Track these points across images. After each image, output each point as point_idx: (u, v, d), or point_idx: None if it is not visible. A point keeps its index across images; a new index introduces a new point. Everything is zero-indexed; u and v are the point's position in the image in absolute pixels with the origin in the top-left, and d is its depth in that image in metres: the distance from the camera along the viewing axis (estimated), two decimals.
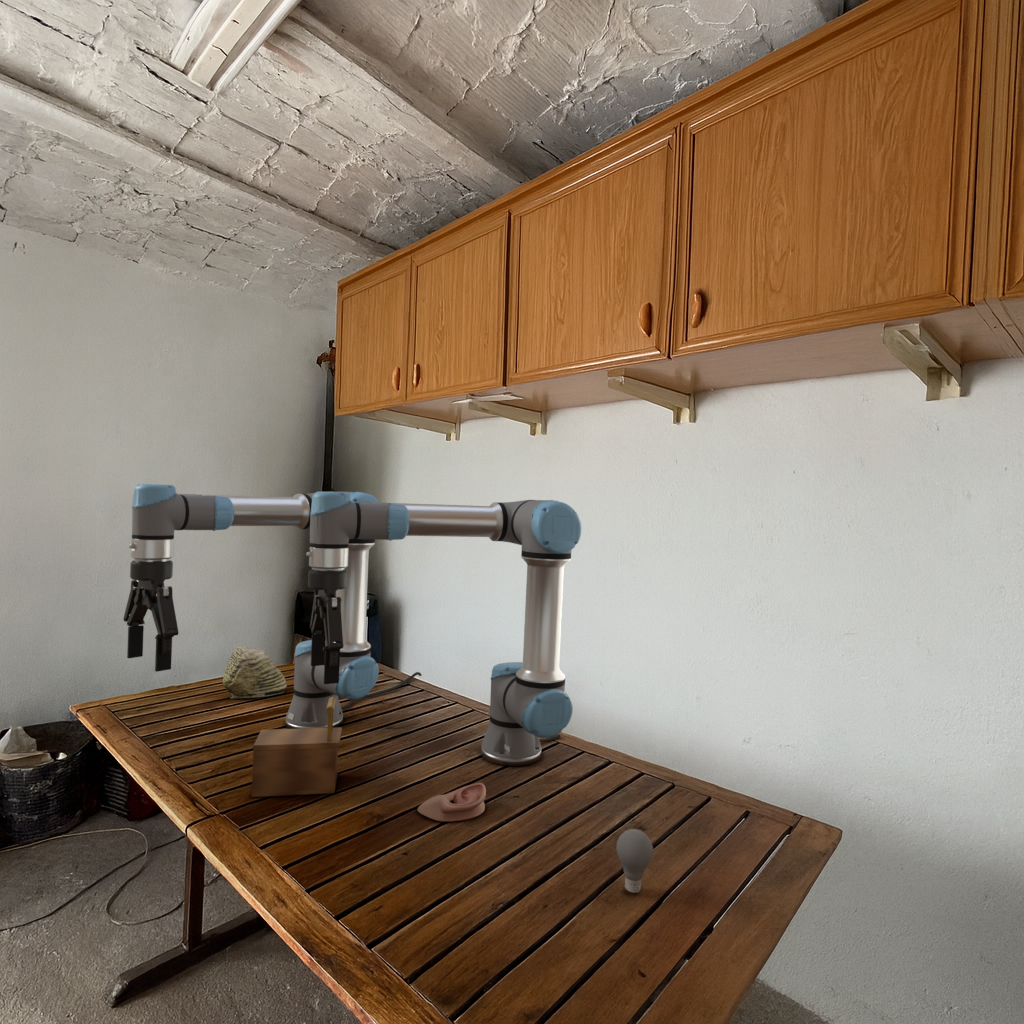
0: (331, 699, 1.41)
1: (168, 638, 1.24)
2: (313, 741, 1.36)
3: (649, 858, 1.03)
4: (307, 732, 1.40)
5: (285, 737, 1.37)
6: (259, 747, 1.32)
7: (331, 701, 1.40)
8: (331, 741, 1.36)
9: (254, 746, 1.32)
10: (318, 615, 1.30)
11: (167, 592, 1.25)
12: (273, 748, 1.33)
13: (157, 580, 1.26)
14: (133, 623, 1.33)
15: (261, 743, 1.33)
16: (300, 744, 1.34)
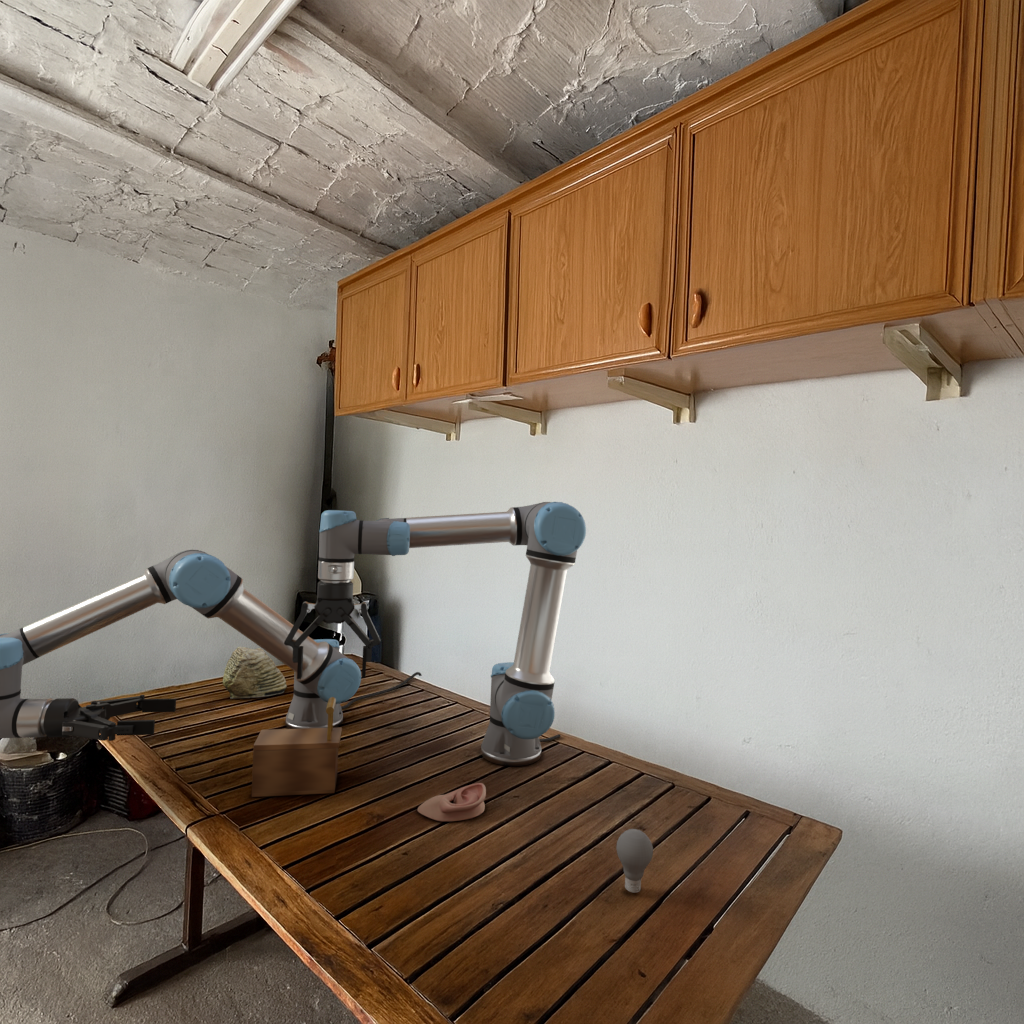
0: (331, 699, 1.41)
1: (114, 730, 1.23)
2: (313, 741, 1.36)
3: (649, 858, 1.03)
4: (307, 732, 1.40)
5: (285, 737, 1.37)
6: (259, 747, 1.32)
7: (331, 701, 1.40)
8: (331, 741, 1.36)
9: (254, 746, 1.32)
10: None
11: (67, 727, 1.23)
12: (273, 748, 1.33)
13: None
14: (140, 707, 1.38)
15: (261, 743, 1.33)
16: (300, 744, 1.34)
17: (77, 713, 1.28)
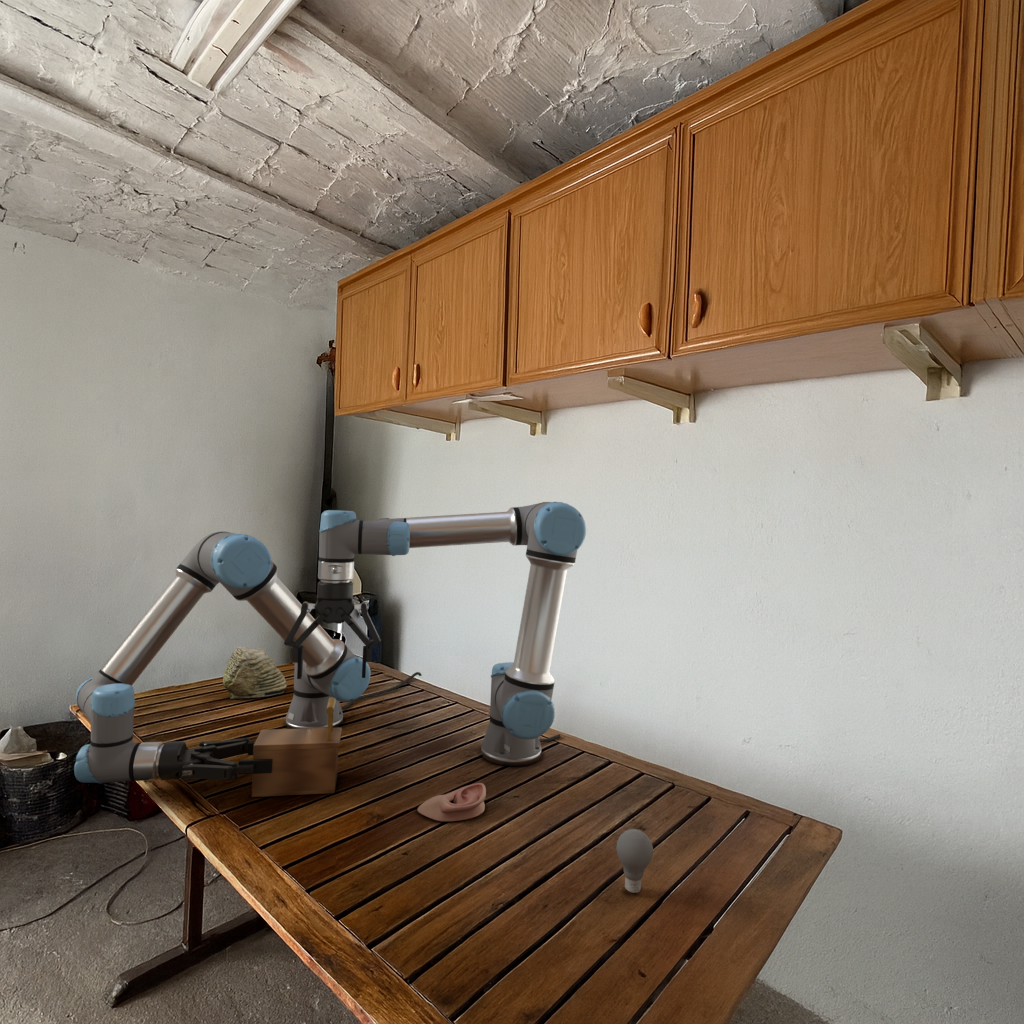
0: (331, 699, 1.41)
1: (236, 770, 1.30)
2: (313, 741, 1.36)
3: (649, 858, 1.03)
4: (307, 733, 1.40)
5: (285, 737, 1.37)
6: (260, 747, 1.32)
7: (331, 701, 1.40)
8: (331, 741, 1.36)
9: (254, 746, 1.32)
10: None
11: (187, 771, 1.28)
12: (273, 748, 1.33)
13: (176, 769, 1.30)
14: (245, 750, 1.41)
15: (261, 743, 1.33)
16: (300, 744, 1.34)
17: (188, 756, 1.33)
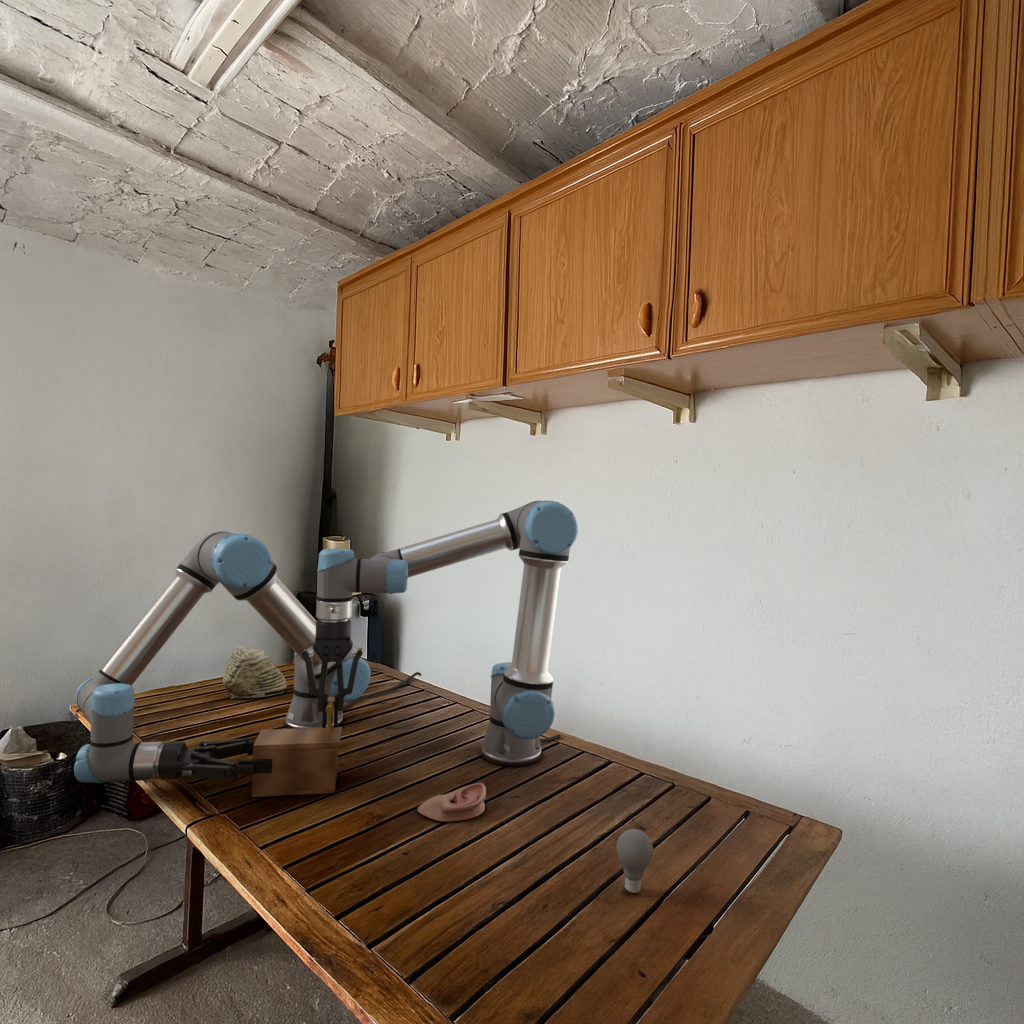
0: (331, 699, 1.41)
1: (236, 770, 1.30)
2: (313, 741, 1.36)
3: (649, 858, 1.03)
4: (307, 732, 1.40)
5: (285, 737, 1.37)
6: (259, 747, 1.32)
7: (331, 701, 1.40)
8: (331, 740, 1.36)
9: (254, 746, 1.32)
10: (326, 668, 1.38)
11: (187, 771, 1.28)
12: (273, 748, 1.33)
13: (176, 769, 1.30)
14: (244, 750, 1.41)
15: (260, 743, 1.33)
16: (300, 744, 1.34)
17: (188, 756, 1.33)
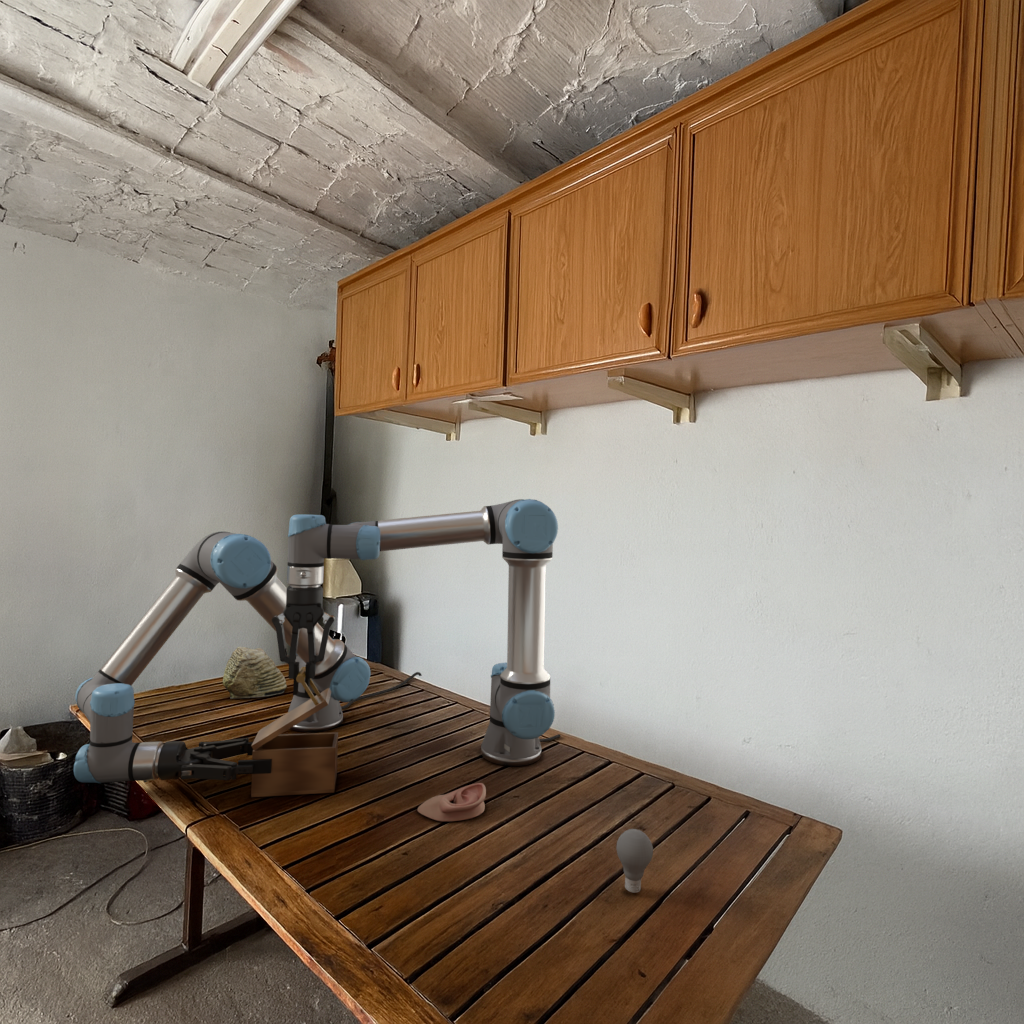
0: (300, 669, 1.39)
1: (236, 770, 1.30)
2: (303, 712, 1.35)
3: (649, 858, 1.03)
4: (298, 709, 1.40)
5: (279, 723, 1.37)
6: (258, 744, 1.32)
7: (300, 671, 1.38)
8: (318, 703, 1.35)
9: (252, 746, 1.32)
10: (297, 635, 1.37)
11: (187, 771, 1.27)
12: (270, 738, 1.33)
13: (176, 769, 1.30)
14: (244, 750, 1.41)
15: (257, 740, 1.33)
16: (292, 721, 1.34)
17: (187, 757, 1.33)
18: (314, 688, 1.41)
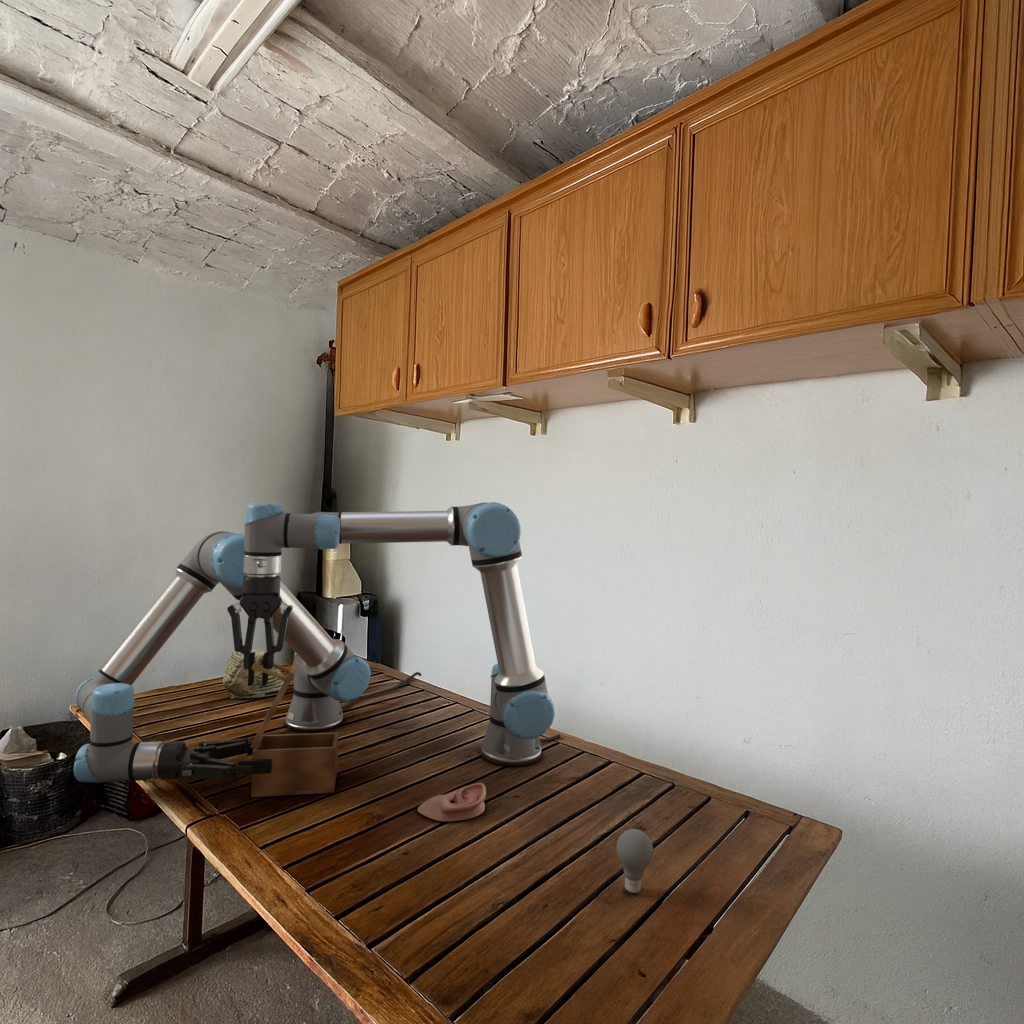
0: None
1: (236, 770, 1.30)
2: None
3: (649, 858, 1.03)
4: None
5: None
6: (255, 742, 1.32)
7: (255, 661, 1.36)
8: (286, 677, 1.34)
9: (251, 746, 1.32)
10: (253, 625, 1.35)
11: (187, 771, 1.27)
12: (262, 731, 1.32)
13: (176, 769, 1.30)
14: (244, 750, 1.41)
15: None
16: (272, 706, 1.33)
17: (187, 756, 1.33)
18: (280, 668, 1.39)
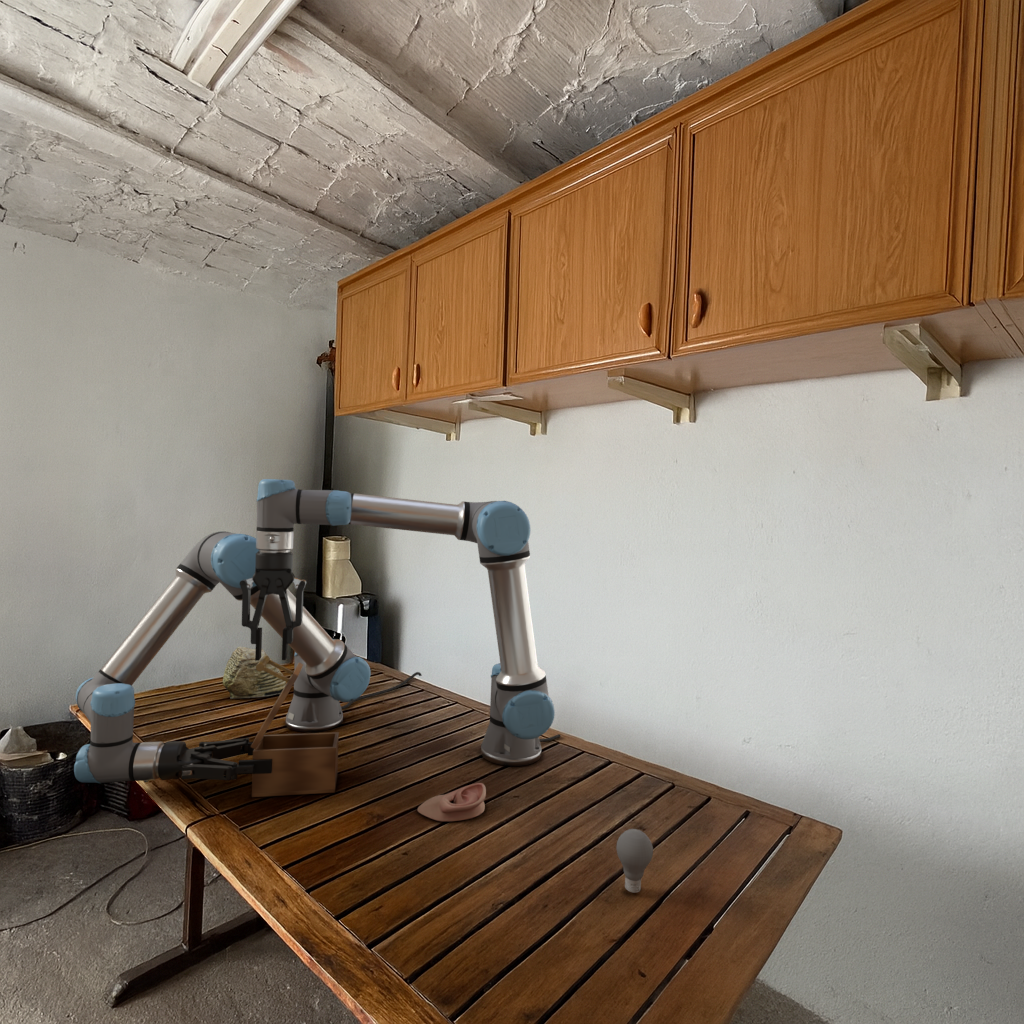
0: None
1: (236, 770, 1.30)
2: (280, 694, 1.34)
3: (649, 858, 1.03)
4: None
5: (268, 715, 1.36)
6: (256, 742, 1.32)
7: (259, 661, 1.36)
8: (289, 679, 1.34)
9: (252, 746, 1.32)
10: (264, 601, 1.35)
11: (187, 771, 1.27)
12: (264, 731, 1.32)
13: (176, 769, 1.30)
14: (244, 750, 1.41)
15: (254, 739, 1.33)
16: (274, 707, 1.33)
17: (188, 757, 1.33)
18: (284, 669, 1.40)
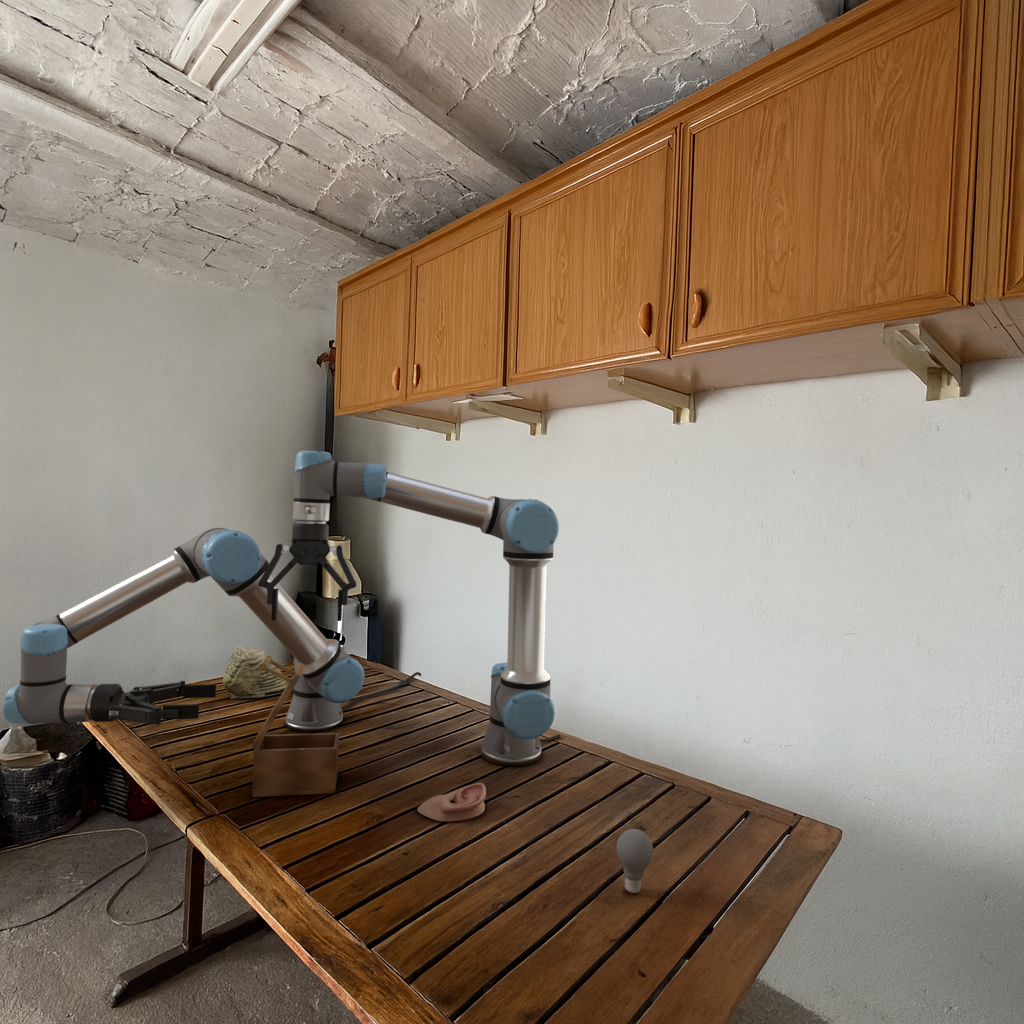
0: (263, 659, 1.38)
1: (160, 714, 1.25)
2: (282, 694, 1.34)
3: (649, 858, 1.03)
4: None
5: None
6: (257, 742, 1.32)
7: (262, 661, 1.36)
8: (292, 679, 1.34)
9: (253, 746, 1.32)
10: (291, 568, 1.36)
11: (113, 711, 1.24)
12: (265, 731, 1.32)
13: (109, 710, 1.27)
14: (181, 692, 1.40)
15: (255, 739, 1.33)
16: (276, 707, 1.33)
17: (122, 698, 1.30)
18: (286, 669, 1.40)
